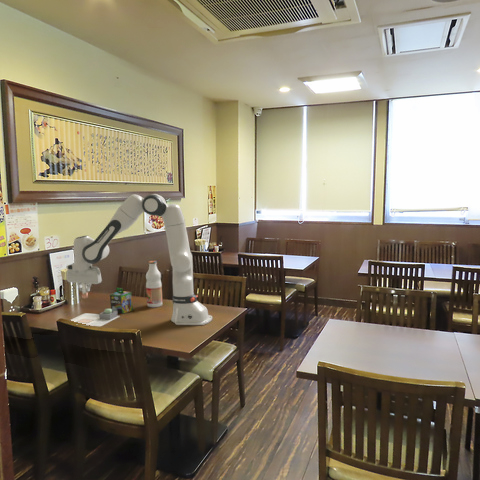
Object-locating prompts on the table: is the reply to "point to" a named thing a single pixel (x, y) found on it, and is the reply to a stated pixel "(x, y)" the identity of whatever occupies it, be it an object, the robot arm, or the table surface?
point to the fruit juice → (153, 286)
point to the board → (96, 318)
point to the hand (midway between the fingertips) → (84, 290)
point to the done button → (108, 311)
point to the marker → (84, 290)
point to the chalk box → (121, 301)
